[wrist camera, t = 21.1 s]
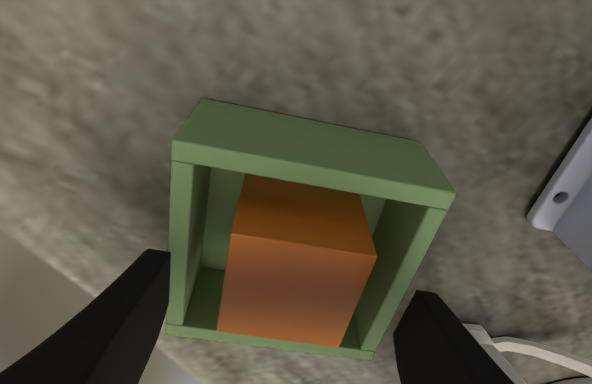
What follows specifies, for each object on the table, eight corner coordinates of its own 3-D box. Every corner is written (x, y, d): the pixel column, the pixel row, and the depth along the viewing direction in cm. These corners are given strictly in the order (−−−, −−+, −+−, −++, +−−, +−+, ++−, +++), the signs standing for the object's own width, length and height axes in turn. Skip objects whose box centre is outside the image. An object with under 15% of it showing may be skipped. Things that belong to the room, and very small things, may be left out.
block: (329, 263, 15) (339, 348, 12) (234, 248, 15) (215, 332, 11) (357, 182, 13) (378, 257, 10) (247, 162, 13) (229, 233, 9)
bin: (357, 292, 17) (370, 362, 14) (189, 266, 16) (164, 334, 13) (420, 141, 13) (458, 193, 10) (201, 97, 12) (171, 139, 9)
